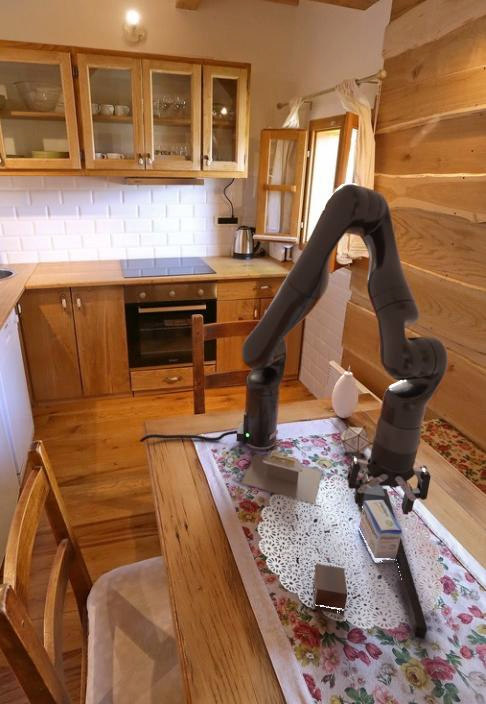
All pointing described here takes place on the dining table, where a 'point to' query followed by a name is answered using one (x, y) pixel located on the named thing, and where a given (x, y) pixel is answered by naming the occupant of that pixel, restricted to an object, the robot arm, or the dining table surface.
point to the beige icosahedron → (355, 440)
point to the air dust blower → (345, 395)
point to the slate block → (373, 494)
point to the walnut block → (329, 588)
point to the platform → (283, 477)
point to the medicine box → (380, 530)
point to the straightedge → (408, 586)
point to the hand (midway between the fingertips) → (381, 507)
